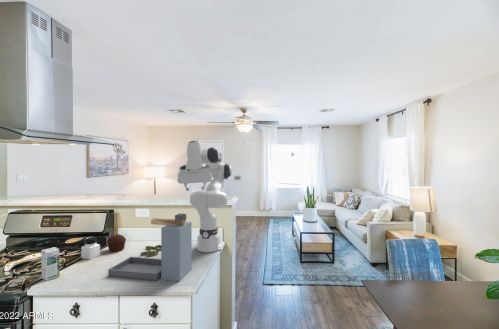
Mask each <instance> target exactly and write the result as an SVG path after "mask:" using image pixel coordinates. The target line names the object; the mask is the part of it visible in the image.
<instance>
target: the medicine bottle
mask: <svg viewBox="0 0 499 329" xmlns="http://www.w3.org/2000/svg"><path fill="white" fill-rule="evenodd" d="M97 241H98V240H97V237H95V236H88V237H86V238H85V239H84V245H82V246H81V248H80V249H81V252H80V253H81V254H80V255H81V257H80V258H81V259H86V260H92V259H95V258H98V257H100V256H101V245H100V244H99V243H97Z"/></svg>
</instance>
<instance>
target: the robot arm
mask: <svg viewBox="0 0 499 329" xmlns="http://www.w3.org/2000/svg"><path fill="white" fill-rule="evenodd" d="M186 157H187V160H186V164H184V165H180V166H179V168H178V170H179V171H178V172H177V183H178V184H180V185H182V184H183V186H184V187H185V192H189V191H190V187H188V184H197V183H198V184H199V183H203V186H201V190H199V191H194V192H192V193H191V194H190V196H189V204H190V205H191V206H192V207H193V208H194V209H195V210H196V211H197V214H198V216H199V226H200V227H199V231H198V232H199V235H197V240H196V241H197V242H196V243H197V244H196V246H195V247H194V248H195V249H196V250H197V251H199V252H202V253H214V252H218V251H222V250H223V247H224V244H225V242H224V241H223V240H221V235H220V234H219V232H218V231H219V226H218V225H217V224H218V218H217V215H216V214H215V213H213V212H212V211H211V210H210V209H221V208H224V207H226V205H227V204H228V201H229V200H228V198H229V197H228V195H227V194H226V192H223V191H224V187H225V180H228V178H230V177H231V176H232V173H233V168H232V166H231V164H230V163H227V162H226V163H222V161H223V160H222V159H223V158H222V153H221V152H220V150H219V149H218V148H217V147H216V146H211V147H206V148H205V147H202V143H201V141H200V140H191V141H188V142H187V146H186ZM203 165H205V166H203Z"/></svg>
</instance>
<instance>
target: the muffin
mask: <svg viewBox="0 0 499 329" xmlns="http://www.w3.org/2000/svg"><path fill="white" fill-rule="evenodd" d="M126 241H127V238H126V237H125V235H123V234H120V233H119V234H112V235H111V236H110V237H109V238H108V239H107V240H106V243H107V247H108V251H109V252H110V253H118V252H122V251H124V250H125V247H126ZM123 249H124V250H123Z"/></svg>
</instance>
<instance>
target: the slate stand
mask: <svg viewBox="0 0 499 329" xmlns="http://www.w3.org/2000/svg"><path fill="white" fill-rule="evenodd" d="M192 228H193V227H192V221H186V225H184V226H173V225H163V227H161V229H160V230H161V231H160V232H161V238H160V239H161V240H160V243H161V244H160V245H161V251H160V253H161V254H160V256H161V257H160V259H161V278H160V279H161V280H163V281H164V280H165V281H172V282H181V281H183V279H184V278H185V277H186V275H187V274H188V273H190V272H191V271H192V240H193V239H192V232H193V230H192ZM187 276H188V275H187Z"/></svg>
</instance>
